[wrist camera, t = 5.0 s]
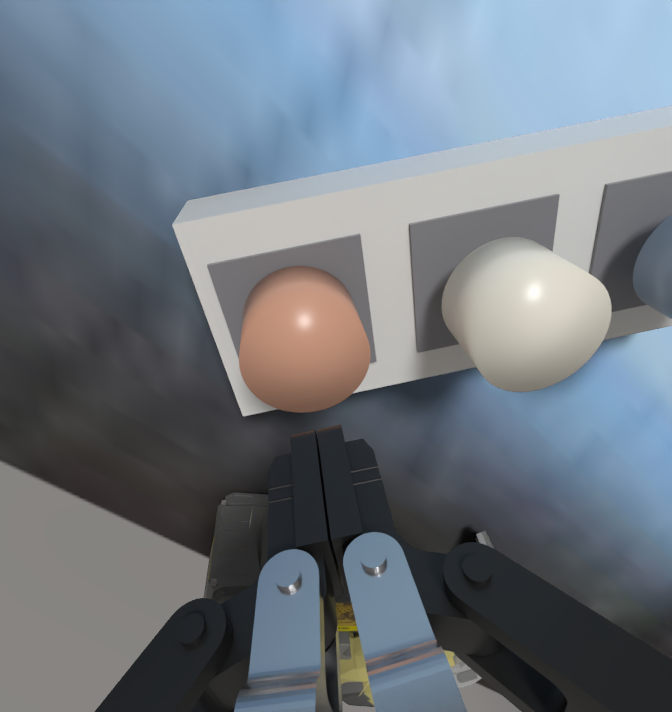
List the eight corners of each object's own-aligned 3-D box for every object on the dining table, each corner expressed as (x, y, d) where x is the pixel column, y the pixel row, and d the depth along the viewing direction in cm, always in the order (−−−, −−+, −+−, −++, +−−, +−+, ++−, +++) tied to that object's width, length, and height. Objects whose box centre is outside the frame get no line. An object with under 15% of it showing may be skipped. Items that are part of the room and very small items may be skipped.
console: (701, 99, 21) (789, 103, 17) (650, 288, 26) (709, 320, 23) (187, 200, 20) (171, 226, 17) (245, 372, 26) (242, 419, 22)
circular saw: (551, 580, 44) (332, 652, 48) (483, 380, 27) (158, 515, 31) (617, 705, 36) (344, 780, 40) (575, 524, 19) (114, 685, 23)
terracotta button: (346, 255, 18) (362, 288, 15) (361, 353, 21) (376, 398, 18) (228, 278, 18) (221, 317, 15) (259, 375, 21) (258, 423, 18)
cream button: (563, 225, 17) (624, 255, 14) (548, 333, 20) (597, 377, 17) (440, 250, 17) (476, 286, 14) (442, 355, 20) (473, 403, 17)
